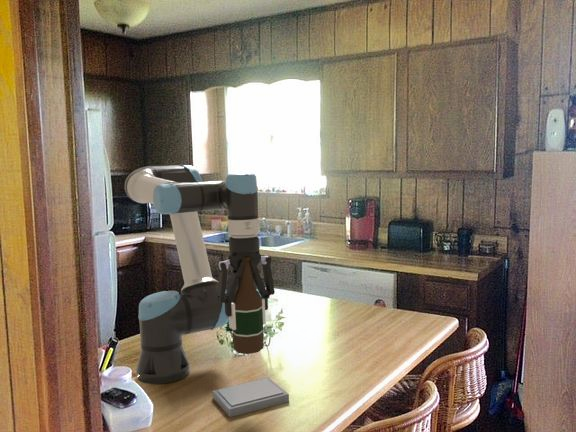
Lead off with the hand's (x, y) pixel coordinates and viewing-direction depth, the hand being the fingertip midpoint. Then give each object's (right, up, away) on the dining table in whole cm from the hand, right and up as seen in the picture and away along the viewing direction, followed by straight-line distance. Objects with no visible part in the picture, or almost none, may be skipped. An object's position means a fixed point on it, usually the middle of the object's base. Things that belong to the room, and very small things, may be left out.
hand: (247, 325), depth 135 cm
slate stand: (+1, -20, +2) cm, 20 cm away
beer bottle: (0, -6, +1) cm, 6 cm away
